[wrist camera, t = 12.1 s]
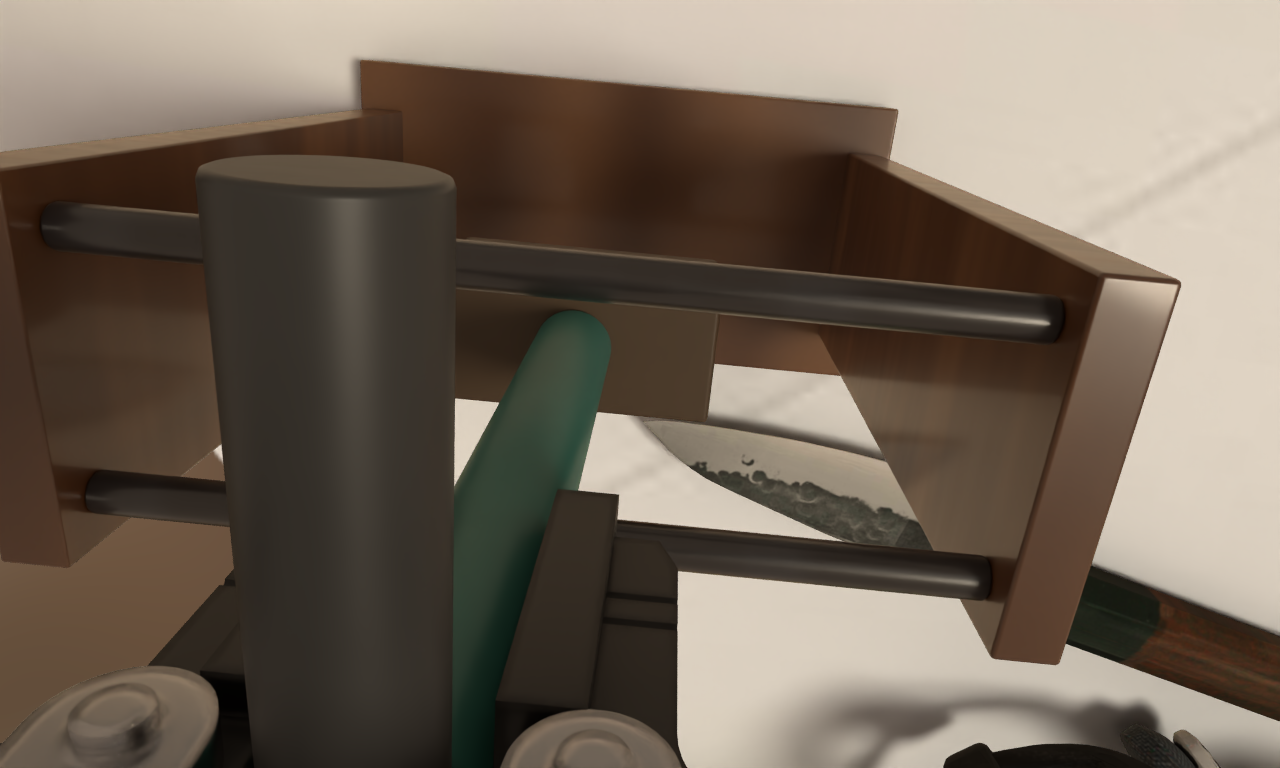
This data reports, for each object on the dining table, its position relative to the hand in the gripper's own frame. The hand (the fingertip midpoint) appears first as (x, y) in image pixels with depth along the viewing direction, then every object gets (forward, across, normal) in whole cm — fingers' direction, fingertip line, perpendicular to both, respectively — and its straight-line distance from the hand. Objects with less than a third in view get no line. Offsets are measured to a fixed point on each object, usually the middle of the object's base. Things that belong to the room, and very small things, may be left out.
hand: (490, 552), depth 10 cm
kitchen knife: (+24, -19, +13) cm, 33 cm away
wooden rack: (+24, 0, 0) cm, 24 cm away
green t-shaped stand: (+11, 0, 0) cm, 11 cm away
